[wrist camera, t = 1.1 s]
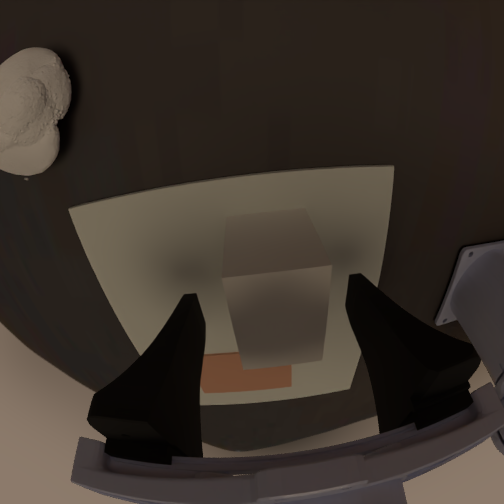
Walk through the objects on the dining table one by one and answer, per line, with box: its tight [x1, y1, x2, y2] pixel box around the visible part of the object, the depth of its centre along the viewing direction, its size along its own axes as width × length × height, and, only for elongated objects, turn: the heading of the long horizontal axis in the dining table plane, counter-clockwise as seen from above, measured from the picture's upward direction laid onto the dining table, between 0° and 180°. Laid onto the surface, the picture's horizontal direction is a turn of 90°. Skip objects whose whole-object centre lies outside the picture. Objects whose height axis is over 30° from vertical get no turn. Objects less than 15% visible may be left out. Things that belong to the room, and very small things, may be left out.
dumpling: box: [0, 47, 72, 180], centre depth 9 cm, size 7×5×4 cm
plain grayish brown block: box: [222, 208, 332, 370], centre depth 14 cm, size 4×6×5 cm, turn 6°
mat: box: [68, 165, 394, 405], centre depth 19 cm, size 18×22×1 cm
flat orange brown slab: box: [200, 352, 292, 393], centre depth 22 cm, size 8×6×1 cm
